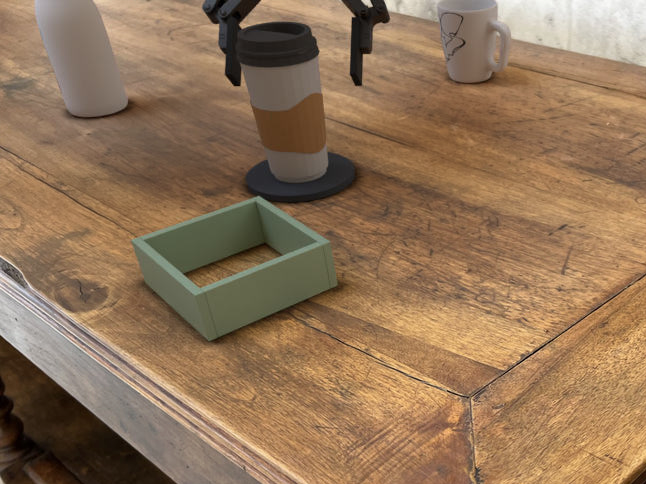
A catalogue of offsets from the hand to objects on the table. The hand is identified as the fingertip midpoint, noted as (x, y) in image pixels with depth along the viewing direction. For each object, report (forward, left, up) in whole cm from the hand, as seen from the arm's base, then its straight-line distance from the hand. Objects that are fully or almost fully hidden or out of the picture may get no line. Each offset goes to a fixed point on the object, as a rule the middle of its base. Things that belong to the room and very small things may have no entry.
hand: (294, 80), depth 87 cm
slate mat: (+3, -3, -10) cm, 10 cm away
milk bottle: (-36, -11, -10) cm, 39 cm away
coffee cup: (+3, -3, -9) cm, 10 cm away
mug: (-9, +34, -10) cm, 37 cm away
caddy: (+19, -19, -10) cm, 28 cm away
